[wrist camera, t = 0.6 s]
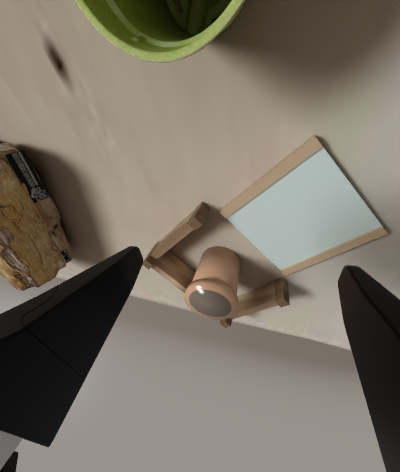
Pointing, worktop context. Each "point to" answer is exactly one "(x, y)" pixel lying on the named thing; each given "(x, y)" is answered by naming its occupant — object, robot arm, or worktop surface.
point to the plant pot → (160, 25)
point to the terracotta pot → (215, 284)
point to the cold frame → (184, 275)
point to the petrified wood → (28, 224)
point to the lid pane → (303, 211)
